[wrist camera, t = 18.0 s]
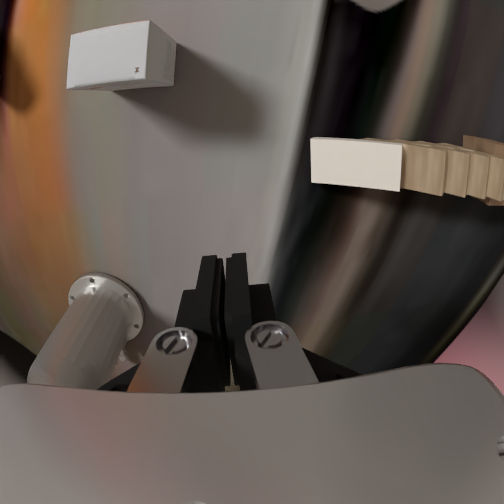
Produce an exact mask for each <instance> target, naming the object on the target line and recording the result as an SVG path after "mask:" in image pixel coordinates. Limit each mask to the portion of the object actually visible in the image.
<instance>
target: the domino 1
mask: <svg viewBox="0 0 504 504" xmlns="http://www.w3.org/2000/svg"><path fill="white" fill-rule="evenodd" d="M310 142H311V182H312V183H324V184H335V185H346V186H356V187H365V188H374V189H382V190H390V191H398V192H400V179H401V160H402V143H393V142H383V141H372V140H359V139H344V138H324V137H314V138H311V139H310Z"/></svg>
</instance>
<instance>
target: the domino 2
mask: <svg viewBox="0 0 504 504" xmlns="http://www.w3.org/2000/svg"><path fill="white" fill-rule="evenodd" d="M361 140H372V141H383V142H393V143H402V160H401V179H400V188H404V189H409V190H414V191H419V192H424V193H429V194H433V195H438V196H442V195H443V193H444V186H445V175H446V163H447V149H442V148H437V147H431V146H425V145H418V144H412V143H405V142H398V141H390V140H382V139H373V138H364V139H361Z"/></svg>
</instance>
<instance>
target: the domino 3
mask: <svg viewBox="0 0 504 504" xmlns="http://www.w3.org/2000/svg"><path fill="white" fill-rule="evenodd" d="M390 141H398V142H405V143H412V144H418V145H425V146H431V147H437V148H442V149H447V163H446V175H445V186H444V193H448V194H452V195H456V196H460V197H464V198H465V197H466V195H467V188H468V179H469V169H470V157H471V153H470V152H466V151H461V150H456V149H451V148H446V147H441V146H436V145H430V144H424V143H418V142H412V141H405V140H398V139H392V140H390Z"/></svg>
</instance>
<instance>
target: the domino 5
mask: <svg viewBox="0 0 504 504" xmlns="http://www.w3.org/2000/svg"><path fill="white" fill-rule="evenodd" d="M438 144H440V145H445V146H450V147H455V148H459V149H464V150H468V151H472V152H477V153H481V154H485V155H489V156H491V165H490V174H489V183H488V191H487V197H490V198H492V199H495V200H498V201H502V200H504V158H502V157H498V156H495V155H491V154H487V153H484V152H480V151H476V150H472V149H468V148H464V147H460V146H455V145H451V144H446V143H438Z"/></svg>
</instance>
